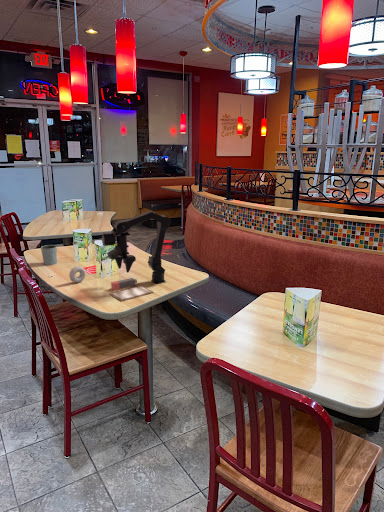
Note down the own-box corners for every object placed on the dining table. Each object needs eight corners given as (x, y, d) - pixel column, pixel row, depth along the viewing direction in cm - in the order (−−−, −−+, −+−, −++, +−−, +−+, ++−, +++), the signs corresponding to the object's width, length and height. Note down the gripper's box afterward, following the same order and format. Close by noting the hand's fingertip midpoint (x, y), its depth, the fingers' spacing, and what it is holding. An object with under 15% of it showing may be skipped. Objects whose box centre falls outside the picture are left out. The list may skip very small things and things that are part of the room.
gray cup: (52, 260, 267) (50, 244, 264) (61, 263, 262) (59, 246, 258) (39, 264, 260) (37, 247, 256) (48, 266, 254) (46, 249, 251)
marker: (134, 282, 224) (134, 276, 223) (137, 284, 221) (137, 278, 220) (111, 288, 215) (111, 282, 214) (114, 290, 212) (114, 284, 211)
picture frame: (141, 286, 218) (141, 285, 218) (153, 292, 209) (153, 291, 209) (109, 294, 207) (109, 293, 206) (121, 301, 197) (121, 300, 197)
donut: (71, 285, 220) (70, 268, 217) (68, 283, 222) (67, 267, 220) (87, 281, 227) (86, 265, 224) (84, 279, 229) (83, 264, 226)
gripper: (100, 243, 213) (103, 269, 217) (116, 249, 199) (119, 277, 203) (118, 239, 219) (120, 265, 224) (135, 246, 205) (137, 273, 210)
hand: (123, 270), depth 215 cm, fingers open, 9 cm apart
